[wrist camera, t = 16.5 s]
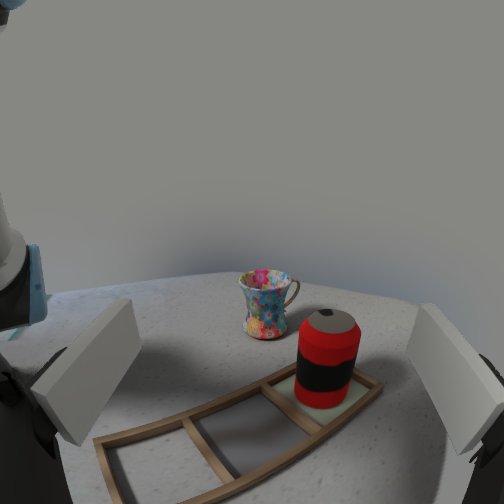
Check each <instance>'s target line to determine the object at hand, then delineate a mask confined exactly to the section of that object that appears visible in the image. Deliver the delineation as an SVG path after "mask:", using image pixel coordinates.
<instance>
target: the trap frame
mask: <svg viewBox="0 0 504 504" xmlns="http://www.w3.org/2000/svg"><path fill="white" fill-rule="evenodd" d="M296 364H297V361H296V362H294V363H293V364H291V365H289V366H287V367H285V368H283V369H281V370H279V371H277V372H275V373H273V374H271V375H269V376H267V377H265V378H263V379H261V380H259V381H256V382H254V383H252V384H250V385H248V386H246V387H243V388H241V389H239V390H237V391H235V392H232V393H230V394H228V395H225V396H223V397H221V398H218V399H216V400H213V401H211V402H208V403H206V404H203V405H201V406H198V407H195V408H193V409H190V410H187V411H185V412H182V413H179V414H176V415H174V416H171V417H168V418H165V419H162V420H159V421H156V422H152V423H149V424H146V425H143V426H139V427H136V428H133V429H129V430H125V431H122V432H118V433H114V434H110V435H106V436H102V437H98V438H93V443H94V447H95V450H96V454H97V457H98V461H99V464H100V467H101V470H102V473H103V477H104V479H105V482H106V485H107V488H108V491H109V493H110V496H111V499H112V501H113V504H126V503H125V501H124V498H123V496H122V494H121V491H120V489H119V486H118V484H117V481H116V478H115V476H114V473H113V470H112V467H111V465H110V462H109V459H108V456H107V452H106V449H109V448H113V447H117V446H121V445H125V444H128V443H132V442H135V441H139V440H142V439H146V438H149V437H152V436H155V435H158V434H161V433H164V432H167V431H170V430H173V429H176V428H179V427H181V426H183V427H184V428H185V430H186V431H187V433H188V434H189V436H190V438H191V439H192V441H193V442H194V444H195V445H196V447H197V448H198V449H199V451H200V452H201V454H202V455H203V457H204V458H205V460H206V461H207V462H208V464H209V465H210V466H211V468H212V469H213V471H214V472H215V473H216V475H217V476H218V477H219V478H220V480H221V481H222V482H223V484H224V485H223V486H221V487H218V488H216V489H214V490H211V491H209V492H207V493H204V494H202V495H199V496H197V497H194V498H191V499H189V500H186V501H183V502H180V503H177V504H214V503H216V502H219V501H221V500H223V499H226V498H228V497H230V496H232V495H234V494H236V493H238V492H240V491H242V490H244V489H246V488H248V487H250V486H252V485H254V484H256V483H258V482H260V481H261V480H263V479H265V478H267V477H269V476H270V475H272V474H274V473H276V472H277V471H279V470H281V469H282V468H284V467H285V466H287V465H289V464H290V463H292V462H293V461H295V460H297V459H298V458H300V457H301V456H303V455H304V454H306V453H307V452H309V451H310V450H311V449H313V448H314V447H316V446H317V445H318V444H320V443H321V442H323V441H324V440H325V439H327V438H328V437H329V436H331V435H332V434H333V433H335V432H336V431H337V430H338V429H340V428H341V427H342V426H343V425H345V424H346V423H347V422H348V421H350V420H351V419H352V418H353V417H354V416H356V415H357V414H358V413H359V412H360V411H361V410H362V409H364V408H365V407H366V406H367V405H368V404H369V403H370V402H371V401H373V400H374V399H375V398H376V397H377V396H378V395H379V394H380V393H381V392H382V390H383V387H384V384H383V383H381V382H379V381H377V380H376V379H374V378H372V377H370V376H368V375H367V374H365V373H363V372H361V371H360V370H358V369H356V368H355V367H354V369H353V373H352V377H351V381H350V385H349V389H348V392H347V395H346V398H345V399H344V400H343V401H342V402H341V403H340V404H338V405H337V406H334V407H331V408H327V409H315V408H311V407H308V406H306V405H304V404H303V403H301V402H300V401H299V400H298V399H297V397H296V395H295V393H294V385H295V375H296ZM261 393H262V394H263V395H262V394H261ZM272 403H273V404H274V405H273V404H272ZM281 411H282V412H283V413H282V412H281ZM289 418H290V419H291V420H290V419H289ZM296 424H297V425H298V426H297V425H296ZM302 429H303V430H304V431H303V430H302ZM308 434H309V435H308Z"/></svg>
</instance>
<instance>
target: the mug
mask: <svg viewBox="0 0 504 504" xmlns="http://www.w3.org/2000/svg"><path fill="white" fill-rule="evenodd" d="M294 281H295V282H297V289H296V291H295V293H294V294H293V296H292V297H291V298H290V300H289V301H288V302H286V303H285V304H284V302H285V297H286V294H287V291H288V289H289V287H290V285H291V283H292V282H294ZM239 284H240V286H241V288H242V290H243V292H244V295H245V298H246V302H247V317H246V320H245V322H244V324H243V328H244V331H245V332H246V333H247V334H248V335H250V336H252V337H254V338H258V339H272V338H276V337H279V336H281V335H283V334H284V333H285V332H286V331H287V329H288V323H287V321H286V319H285V316H284V312H286V310H284V308H285V307H287V306H288V305H289V304H290V303H291V302H292V301H293V300H294V299H295V297H296V296H297V294H298V292H299V289H300V282H299V281H298V280H296V279H292V278H291V277H290V276H289V275H288V274H286V273H284V272H281V271H276V270H256V271H251V272H248V273H245V274H243V275H242V276H241V277H240V278H239Z"/></svg>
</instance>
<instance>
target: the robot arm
mask: <svg viewBox="0 0 504 504" xmlns="http://www.w3.org/2000/svg"><path fill="white" fill-rule="evenodd" d="M25 1H26V0H0V34H1V33H2V32H3V31H4V29H5V28H6V26H7V21H8V16H9V12H10V10H13V9H16V8H17V7H19V6H21V5H22V4H23V3H24V2H25ZM47 311H48V310H47V301H46V294H45V286H44V279H43V272H42V266H41V258H40V251H39V247H38V246H37V245H36V244H31V243H30V244H28V245H27V246H26V244H25V241H24V238H23V236H22V235H21V233H20V232H19V231H17V230H16V229H14V228H12V227H10V226H9V223H8V220H7V217H6V213H5V210H4V206H3V202H2V198H1V194H0V332H2V331H6V330H11V329H15V328H20V327H24V326H31V325H32V324H34V323H38V322H41V321H43V320H44V319H45V318H46V316H47ZM141 349H142V343H141V339H140V335H139V331H138V327H137V323H136V319H135V314H134V310H133V305H132V300H131V299H125V298H117V299H116V300H115V301H114V302H113V303H112V304H111V305H110V306H109V307H108V308H106V309H105V310H104V311H103V312H102V313H101V314H100V315H99V316H98V317H97V318H96V319H95V320H94V321H93V322H92V323H91V324H90V325H89V326H88V327H87V328H86V329H85V330H84V331H83V332H82V333H81V334H80V335H79V336H78V337H77V338H76V339H75V340H74V342H73V343H72V344H71V345H70V346H69V347H65V348H63V349H62V350H60V351H58V352H57V353H55V354H54V356H53V357H52V358H51V359H50V360H49V362H47V363H46V364H45V365H44V366H43V368H41V369H40V370H39V371H38V373H37V374H36V375H35V376H34V377H33V378H32V379H31V380H30V381H29V382H28V383H27V385H26V386H25V387H24V388H23V389H22V387H21V385H20V383H19V382H18V380H17V378H16V376H15V374H14V372H13V370H12V368H11V366H10V364H9V363H8V361H7V360H6V359H5V358H4V357H3V356H2V355H1V353H0V504H73V502H72V499H71V495H70V492H69V489H68V485H67V481H66V477H65V473H64V469H63V465H62V460H61V456H60V451H59V445H58V441H57V439H56V437H55V434H56V433H57V431H58V432H59V433H60V435H61V436H62V437H63V438H64V440H65V441H67V442H70V443H72V444H74V445H76V446H78V447H81V445H82V443H83V441H84V440H85V438H86V436H87V435H88V433H89V431H90V430H91V428H92V426H93V425H94V423H95V421H96V420H97V418H98V416H99V415H100V413H101V412H102V410H103V408H104V407H105V405H106V403H107V402H108V400H109V399H110V397H111V395H112V394H113V392H114V391H115V389H116V388H117V386H118V384H119V383H120V381H121V380H122V378H123V377H124V375H125V373H126V372H127V370H128V369H129V367H130V366H131V364H132V363H133V361H134V360H135V358H136V356H137V355H138V353H139V352H140V350H141ZM406 354H407V356H408V357H409V359H410V361H411V363H412V364H413V366H414V368H415V370H416V372H417V373H418V375H419V377H420V379H421V381H422V383H423V385H424V386H425V388H426V390H427V392H428V394H429V396H430V398H431V400H432V402H433V404H434V406H435V408H436V410H437V412H438V414H439V416H440V418H441V420H442V422H443V424H444V426H445V428H446V431H447V433H448V435H449V437H450V439H451V441H452V444H453V446H454V448H455V451H456V453H457V455H461V454H463V453H465V452H467V451H470V450H472V449H473V448H474V447H475V446H476V445H477V444H478V442H479V441H480V440H481V441H482V443H483V445H482V447H481V448H480V449H479V450H478V451H477V452H476V453H475V454H474V456H473V457H472V458H471V459H470V461H469V463H471V462H472V461H473V460H474V459H475V458H476V457H477V456H478V457H477V460H476V462H475V463H474V464H475V467H474V471H473V474H472V477H471V480H470V483H469V486H468V488H467V491H466V494H465V497H464V499H463V501H462V504H504V379H503V378H502V376H500V374H499V372H498V371H497V370H495V367H494V366H493V365H492V363H491V362H490V361H489V360H488V359H487V358H485V357H484V356H482V355H481V354H477V352H476V351H475V350H474V349H473V348H472V346H471V345H470V344H469V343H468V342H467V340H466V339H465V338H464V337H463V336H462V335H461V333H460V332H459V331H458V330H457V329H456V328H455V327H454V325H453V324H452V323H451V322H450V321H449V320H448V319H447V318H446V317H445V316H444V315H443V313H442V312H441V311H440V310H439V309H438V308H437V307H436V306H435V305H434V304H433V303H426V304H420V306H419V310H418V313H417V317H416V321H415V324H414V327H413V331H412V334H411V337H410V340H409V343H408V346H407V349H406Z"/></svg>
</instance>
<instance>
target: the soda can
mask: <svg viewBox="0 0 504 504" xmlns="http://www.w3.org/2000/svg"><path fill="white" fill-rule="evenodd" d="M360 338H361V330H360V328H359V326H358V325H357V323H356V322H355V319H354V318H353V317H352V316H351V315H350V314H348V313H346V312H344V311H341V310H335V309H323V310H318V311H315V312H313V313H312V314H311V315H310V316H309V317H308V318H307V319H306V320H305V321H304V322H303V323H302V324H301V325H300V328H299V341H298V353H297V364H296V375H295V385H294V393H295V395H296V397H297V399H298V400H299V401H300V402H301V403H303V404H304V405H306V406H308V407H311V408H315V409H327V408H331V407H334V406H337V405H338V404H340V403H341V402H342V401H343V400H344V399H345V398H346V395H347V392H348V389H349V385H350V381H351V377H352V373H353V369H354V365H355V361H356V357H357V352H358V348H359V343H360Z"/></svg>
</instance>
